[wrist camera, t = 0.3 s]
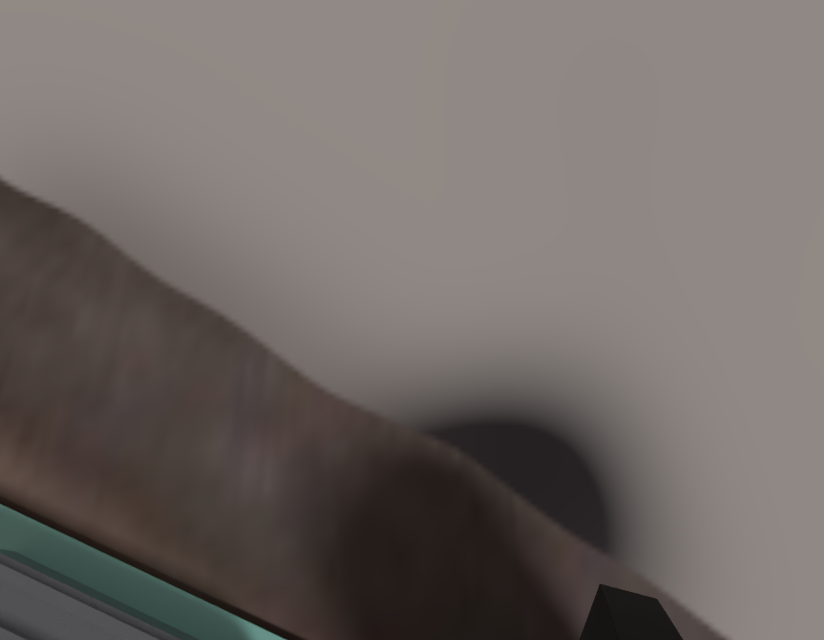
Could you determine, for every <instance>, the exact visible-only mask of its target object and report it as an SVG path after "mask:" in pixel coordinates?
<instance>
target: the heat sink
mask: <svg viewBox="0 0 824 640" xmlns="http://www.w3.org/2000/svg"><path fill="white" fill-rule="evenodd" d="M0 640H199V639H197V638H195V637H193V636H191V635H189V634H186V633H184V632H182V631H180V630H178V629H176V628H174V627H172V626H170V625H168V624H166V623H163V622H161V621H159V620H157V619H155V618H153V617H151V616H149V615H147V614H145V613H142V612H140V611H138V610H136V609H134V608H132V607H130V606H128V605H126V604H124V603H122V602H119V601H117V600H115V599H113V598H111V597H109V596H107V595H105V594H103V593H101V592H98V591H96V590H94V589H92V588H90V587H88V586H86V585H84V584H82V583H80V582H78V581H75V580H73V579H71V578H69V577H67V576H65V575H63V574H61V573H59V572H57V571H54V570H52V569H50V568H48V567H46V566H44V565H42V564H40V563H38V562H36V561H34V560H31V559H29V558H27V557H25V556H23V555H21V554H19V553H17V552H15V551H10V550H3V549H0Z"/></svg>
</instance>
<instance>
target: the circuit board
mask: <svg viewBox="0 0 824 640" xmlns="http://www.w3.org/2000/svg"><path fill="white" fill-rule="evenodd" d="M0 549H3V550H10V551H15V552H17V553H19V554H21V555H23V556H25V557H27V558H29V559H31V560H34V561H36V562H38V563H40V564H42V565H44V566H46V567H48V568H50V569H52V570H54V571H57V572H59V573H61V574H63V575H65V576H67V577H69V578H71V579H73V580H75V581H78V582H80V583H82V584H84V585H86V586H88V587H90V588H92V589H94V590H96V591H98V592H101V593H103V594H105V595H107V596H109V597H111V598H113V599H115V600H117V601H119V602H122V603H124V604H126V605H128V606H130V607H132V608H134V609H136V610H138V611H140V612H142V613H145V614H147V615H149V616H151V617H153V618H155V619H157V620H159V621H161V622H163V623H166V624H168V625H170V626H172V627H174V628H176V629H178V630H180V631H182V632H184V633H186V634H189V635H191V636H193V637H195V638H197V639H199V640H287V639H285V638H283V637H281V636H279V635H277V634H274V633H272V632H270V631H268V630H266V629H264V628H262V627H260V626H258V625H256V624H253V623H251V622H249V621H247V620H245V619H243V618H241V617H239V616H237V615H234V614H232V613H230V612H228V611H226V610H224V609H222V608H220V607H218V606H215V605H213V604H211V603H209V602H207V601H205V600H203V599H201V598H199V597H197V596H194V595H192V594H190V593H188V592H186V591H184V590H182V589H180V588H178V587H175V586H173V585H171V584H169V583H167V582H165V581H163V580H161V579H159V578H156V577H154V576H152V575H150V574H148V573H146V572H144V571H142V570H140V569H138V568H135V567H133V566H131V565H129V564H127V563H125V562H123V561H121V560H119V559H116V558H114V557H112V556H110V555H108V554H106V553H104V552H102V551H100V550H97V549H95V548H93V547H91V546H89V545H87V544H85V543H83V542H81V541H79V540H76V539H74V538H72V537H70V536H68V535H66V534H64V533H62V532H60V531H57V530H55V529H53V528H51V527H49V526H47V525H45V524H43V523H41V522H38V521H36V520H34V519H32V518H30V517H28V516H26V515H24V514H22V513H20V512H17V511H15V510H13V509H11V508H9V507H7V506H5V505H3V504H1V503H0Z"/></svg>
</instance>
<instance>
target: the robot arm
mask: <svg viewBox="0 0 824 640" xmlns="http://www.w3.org/2000/svg"><path fill="white" fill-rule="evenodd" d="M580 640H683V639H682V637H681V636H680V634H679V633H678V631H677V629H676V628H675V626H674V625H673V623H672V621H671V620H670V618H669V617H668V615H667V614H666V612H665V610H664V609H663V607H662V606H661V604H660V603H659V601H658V600H657V599H655V598H652V597H648V596H644V595H640V594H636V593H633V592H629V591H625V590H621V589H617V588H614V587H610V586H606V585H602V584H600V585H599V588H598V591H597V593H596V596H595V599H594V602H593V604H592V607H591V610H590V613H589V615H588V618H587V621H586V623H585V626H584V629H583V632H582V634H581V637H580Z"/></svg>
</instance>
